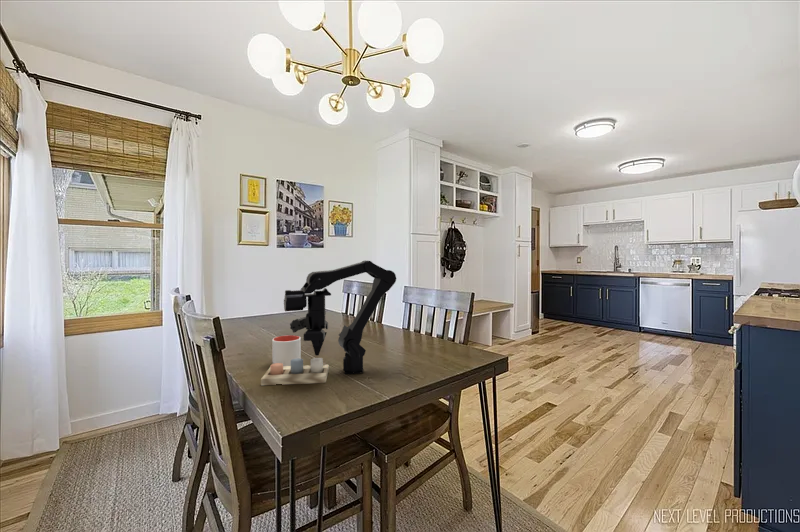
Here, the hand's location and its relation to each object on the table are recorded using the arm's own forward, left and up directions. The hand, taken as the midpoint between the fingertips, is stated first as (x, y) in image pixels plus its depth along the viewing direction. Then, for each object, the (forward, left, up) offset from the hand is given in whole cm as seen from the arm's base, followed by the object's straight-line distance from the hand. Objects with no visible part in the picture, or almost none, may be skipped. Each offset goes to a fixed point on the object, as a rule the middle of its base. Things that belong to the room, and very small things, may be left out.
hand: (317, 355), depth 116 cm
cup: (+13, -14, -8) cm, 20 cm away
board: (+7, 0, -7) cm, 10 cm away
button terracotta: (+13, 0, -7) cm, 15 cm away
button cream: (0, 0, -5) cm, 5 cm away
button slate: (+7, 0, -5) cm, 9 cm away
